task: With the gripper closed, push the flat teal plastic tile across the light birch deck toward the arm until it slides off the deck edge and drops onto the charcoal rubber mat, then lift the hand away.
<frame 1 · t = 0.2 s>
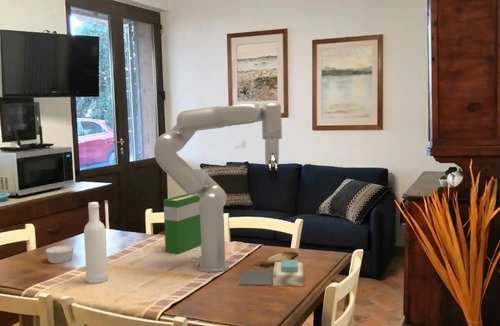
hand: (273, 178, 209), 36 cm above the table, tool pointing down, fingers open, 9 cm apart
hardback book: (184, 249, 245), on the table
bottle: (97, 280, 202), on the table
tile: (289, 268, 200), point 4 cm above the table, touching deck
parchment: (278, 260, 225), on the table
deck: (288, 278, 201), on the table
mat: (256, 278, 202), on the table
ramekin: (60, 261, 230), on the table
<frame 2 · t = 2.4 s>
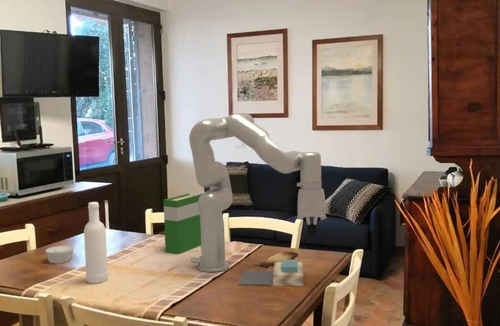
hand: (312, 234, 198), 17 cm above the table, tool pointing down, fingers closed
nothing on the table moved.
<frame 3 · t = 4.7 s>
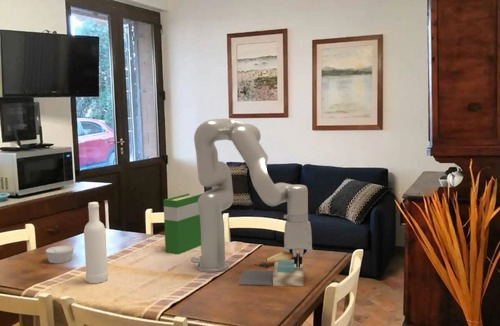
hand: (298, 266, 200), 5 cm above the table, tool pointing down, fingers closed
tile: (286, 268, 200), point 4 cm above the table, touching gripper
everything else where it was.
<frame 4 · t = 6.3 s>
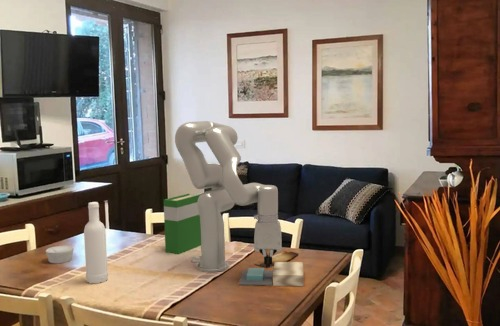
hand: (268, 265, 201), 5 cm above the table, tool pointing down, fingers closed
tile: (255, 271, 201), point 2 cm above the table, tilted 180°, touching mat
everything else where it was.
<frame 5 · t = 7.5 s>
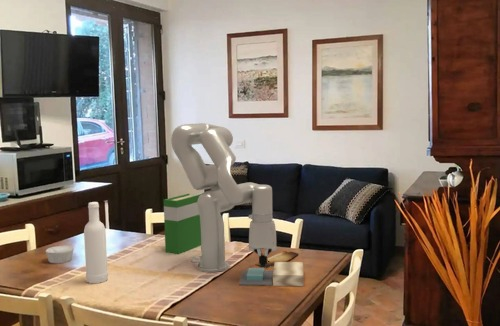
hand: (263, 265, 201), 5 cm above the table, tool pointing down, fingers closed
nothing on the table moved.
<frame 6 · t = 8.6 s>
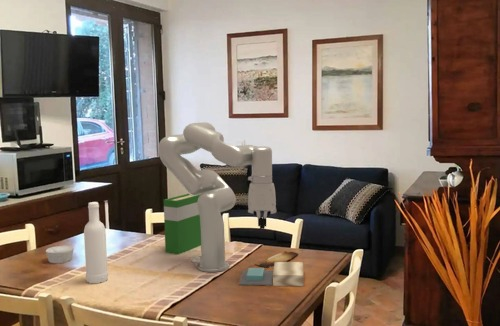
hand: (262, 228, 200), 19 cm above the table, tool pointing down, fingers closed
nothing on the table moved.
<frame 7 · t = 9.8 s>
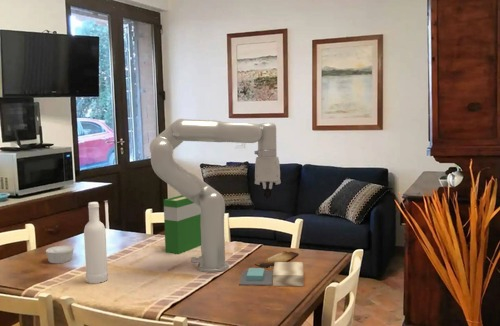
hand: (267, 198, 218), 27 cm above the table, tool pointing down, fingers closed
nothing on the table moved.
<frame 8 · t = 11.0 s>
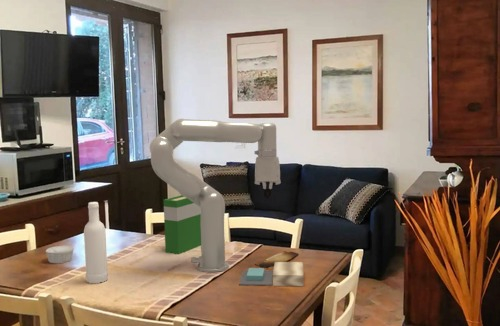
hand: (267, 198, 219), 27 cm above the table, tool pointing down, fingers closed
nothing on the table moved.
at the end: tile point 2.5 cm above the table; tile inside the target area (0.2 cm from its centre), point 2.5 cm above the table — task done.
